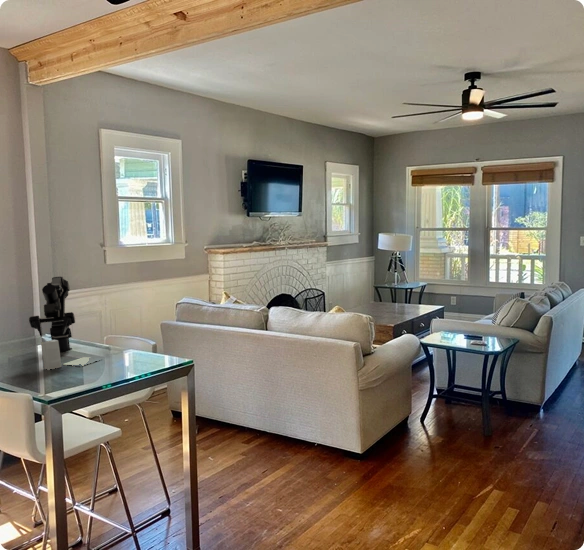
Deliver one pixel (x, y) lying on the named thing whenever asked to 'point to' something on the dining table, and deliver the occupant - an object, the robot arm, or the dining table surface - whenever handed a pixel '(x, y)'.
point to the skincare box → (51, 354)
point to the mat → (78, 361)
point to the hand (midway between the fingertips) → (52, 335)
